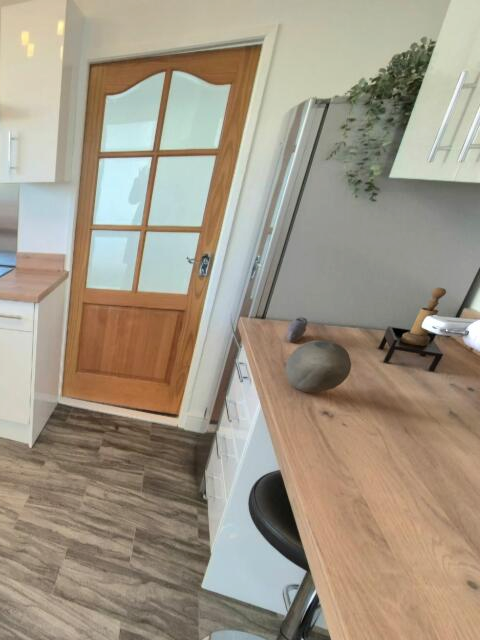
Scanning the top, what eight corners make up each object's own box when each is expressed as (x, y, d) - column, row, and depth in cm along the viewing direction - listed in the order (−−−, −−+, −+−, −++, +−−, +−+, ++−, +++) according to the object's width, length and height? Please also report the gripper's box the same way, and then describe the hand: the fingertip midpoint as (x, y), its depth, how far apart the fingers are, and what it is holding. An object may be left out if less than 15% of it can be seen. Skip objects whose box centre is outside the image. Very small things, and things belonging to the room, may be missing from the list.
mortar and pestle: (402, 337, 144) (428, 284, 136) (428, 342, 140) (457, 288, 132) (398, 342, 140) (425, 287, 132) (425, 347, 136) (454, 291, 128)
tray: (424, 355, 145) (436, 333, 142) (433, 371, 134) (446, 348, 130) (378, 347, 152) (388, 326, 148) (383, 362, 140) (394, 339, 137)
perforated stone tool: (296, 346, 153) (303, 327, 150) (279, 342, 156) (285, 324, 153) (305, 335, 162) (311, 318, 159) (288, 332, 165) (294, 315, 162)
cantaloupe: (267, 386, 124) (284, 338, 118) (294, 377, 130) (313, 330, 123) (321, 408, 113) (343, 356, 106) (348, 396, 119) (372, 347, 112)
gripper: (434, 341, 117) (406, 325, 129) (532, 351, 111) (493, 333, 123) (445, 319, 114) (416, 305, 126) (547, 328, 109) (506, 312, 120)
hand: (455, 319), depth 125 cm, fingers open, 8 cm apart
